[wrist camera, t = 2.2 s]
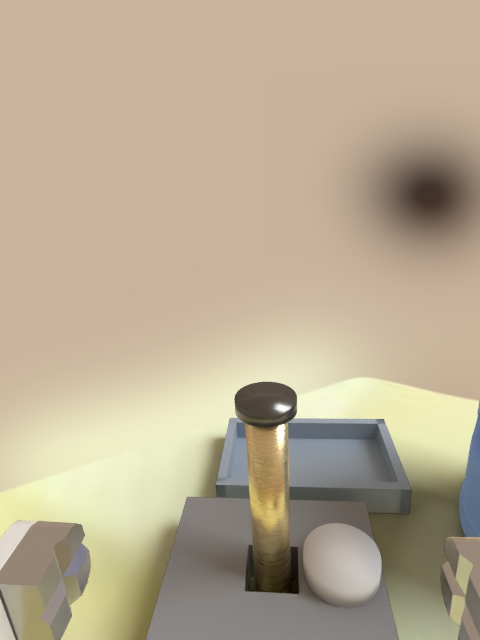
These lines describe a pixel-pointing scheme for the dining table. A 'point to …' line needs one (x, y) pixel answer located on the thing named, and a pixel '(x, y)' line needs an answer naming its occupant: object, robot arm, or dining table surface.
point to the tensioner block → (273, 608)
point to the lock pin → (268, 479)
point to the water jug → (471, 488)
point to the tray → (327, 464)
